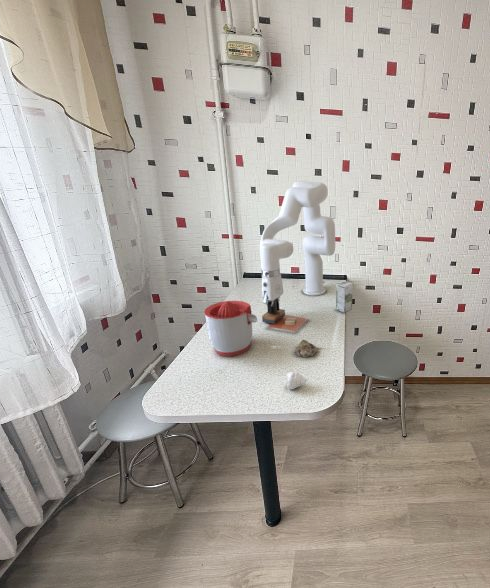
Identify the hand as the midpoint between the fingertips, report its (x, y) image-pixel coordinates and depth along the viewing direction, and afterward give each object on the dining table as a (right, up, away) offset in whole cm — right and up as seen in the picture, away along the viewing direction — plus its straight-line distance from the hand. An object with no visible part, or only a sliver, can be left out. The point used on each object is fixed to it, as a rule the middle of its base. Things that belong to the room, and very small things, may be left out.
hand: (273, 311), depth 147 cm
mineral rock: (+19, -15, -19) cm, 31 cm away
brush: (0, -3, +1) cm, 4 cm away
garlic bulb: (+21, -23, -40) cm, 50 cm away
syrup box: (+29, -1, +18) cm, 34 cm away
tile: (+7, -6, +1) cm, 9 cm away
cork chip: (+8, -5, 0) cm, 9 cm away
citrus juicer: (-8, -14, -20) cm, 26 cm away
